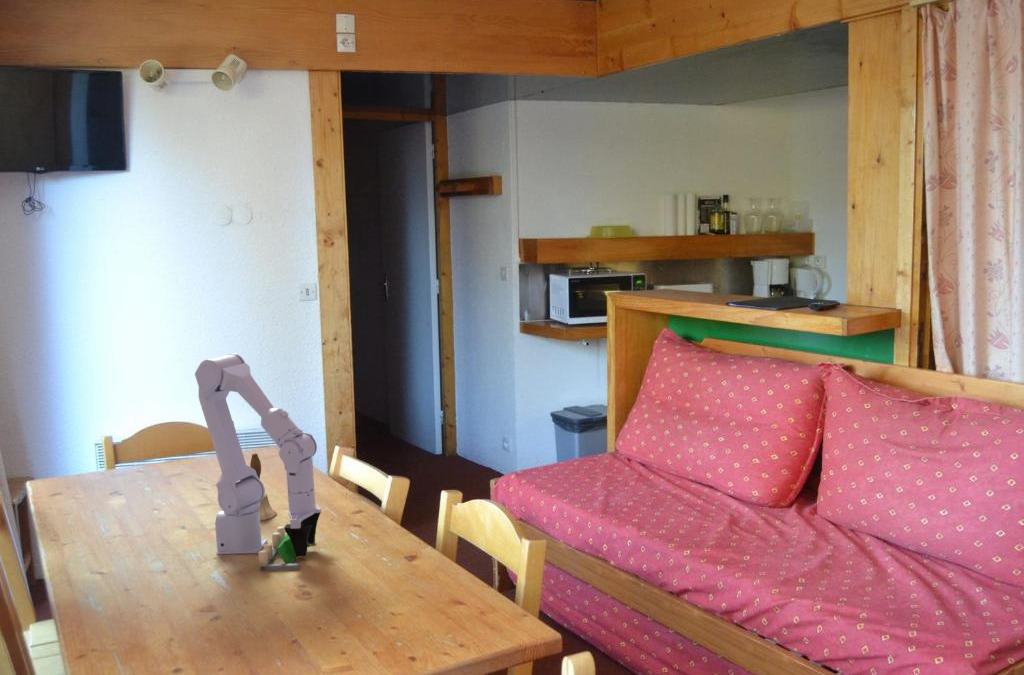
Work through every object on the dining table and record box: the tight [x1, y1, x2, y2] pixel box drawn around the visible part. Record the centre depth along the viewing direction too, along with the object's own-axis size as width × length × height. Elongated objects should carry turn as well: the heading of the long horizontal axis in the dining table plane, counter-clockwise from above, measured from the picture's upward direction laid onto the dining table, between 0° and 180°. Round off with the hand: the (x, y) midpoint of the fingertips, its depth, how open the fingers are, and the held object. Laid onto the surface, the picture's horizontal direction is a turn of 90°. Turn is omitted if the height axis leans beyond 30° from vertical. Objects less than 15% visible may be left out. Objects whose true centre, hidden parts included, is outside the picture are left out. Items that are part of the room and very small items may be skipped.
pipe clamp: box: [277, 533, 311, 564], centre depth 213 cm, size 11×4×5 cm, turn 0°
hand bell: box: [249, 452, 278, 522], centre depth 241 cm, size 8×8×16 cm
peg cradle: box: [258, 525, 316, 572], centre depth 213 cm, size 8×17×4 cm, turn 179°
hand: (305, 549), depth 213 cm, fingers open, 7 cm apart
